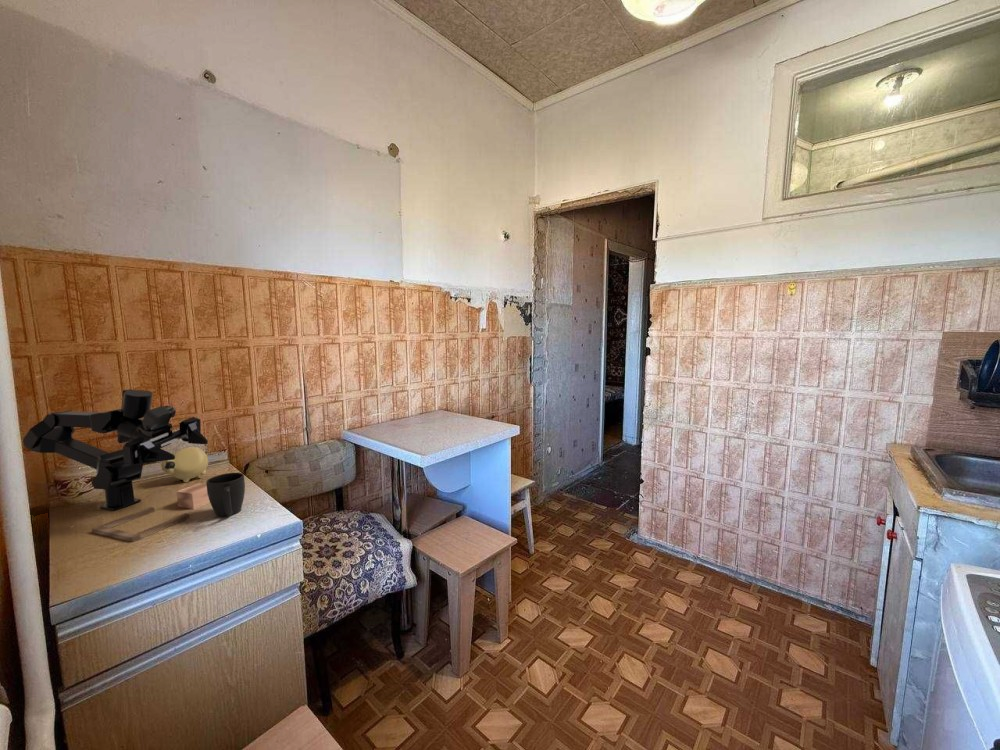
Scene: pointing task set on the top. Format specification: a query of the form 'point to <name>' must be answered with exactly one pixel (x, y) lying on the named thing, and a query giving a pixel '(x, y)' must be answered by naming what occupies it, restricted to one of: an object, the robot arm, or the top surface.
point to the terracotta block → (193, 496)
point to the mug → (226, 493)
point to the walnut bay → (108, 531)
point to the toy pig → (186, 464)
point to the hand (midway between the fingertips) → (191, 449)
